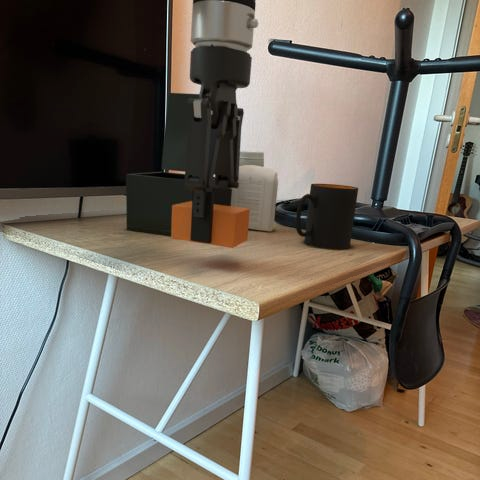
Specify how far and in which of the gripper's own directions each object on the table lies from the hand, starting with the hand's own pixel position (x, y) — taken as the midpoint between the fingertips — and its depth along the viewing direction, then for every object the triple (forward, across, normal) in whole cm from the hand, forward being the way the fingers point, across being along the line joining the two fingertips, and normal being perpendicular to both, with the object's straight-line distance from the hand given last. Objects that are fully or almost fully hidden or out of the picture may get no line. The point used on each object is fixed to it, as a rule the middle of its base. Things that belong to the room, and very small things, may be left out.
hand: (210, 237), depth 67 cm
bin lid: (-13, +30, +16) cm, 36 cm away
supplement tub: (+4, +51, +13) cm, 53 cm away
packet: (0, 0, 0) cm, 0 cm away
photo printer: (+4, +33, +5) cm, 33 cm away
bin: (+4, +22, +16) cm, 27 cm away
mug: (+4, +25, -11) cm, 28 cm away
